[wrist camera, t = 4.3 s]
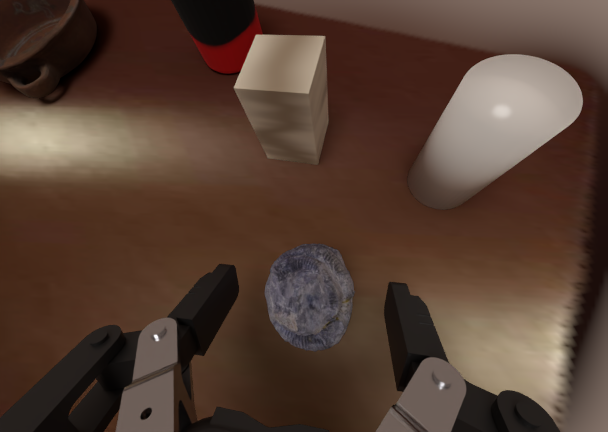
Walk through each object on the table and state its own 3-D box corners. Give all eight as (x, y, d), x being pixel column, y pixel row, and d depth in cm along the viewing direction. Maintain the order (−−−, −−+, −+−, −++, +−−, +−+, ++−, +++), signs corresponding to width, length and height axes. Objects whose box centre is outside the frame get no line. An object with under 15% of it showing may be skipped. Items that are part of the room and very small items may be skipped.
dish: (-10, 132, 29) (-75, 101, 25) (9, 32, 37) (-38, -6, 33) (117, 82, 29) (75, 42, 25) (109, -8, 37) (77, -52, 33)
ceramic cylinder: (397, 191, 19) (443, 111, 11) (422, 147, 21) (483, 43, 12) (457, 220, 18) (563, 153, 10) (481, 171, 19) (596, 72, 11)
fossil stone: (364, 281, 17) (398, 264, 8) (325, 345, 16) (312, 411, 7) (307, 243, 19) (279, 191, 10) (268, 299, 18) (194, 303, 9)
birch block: (267, 158, 22) (233, 88, 15) (281, 117, 24) (256, 34, 16) (317, 164, 21) (308, 93, 14) (328, 121, 23) (325, 36, 15)
